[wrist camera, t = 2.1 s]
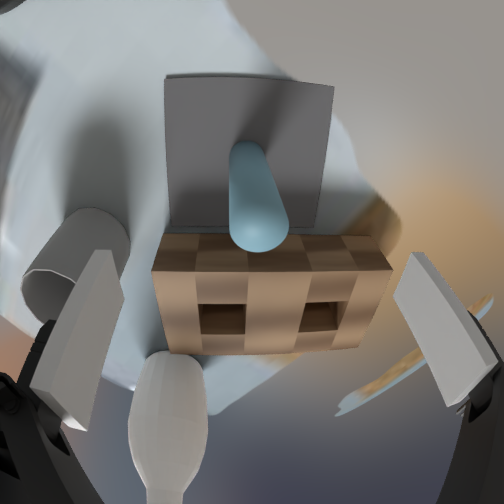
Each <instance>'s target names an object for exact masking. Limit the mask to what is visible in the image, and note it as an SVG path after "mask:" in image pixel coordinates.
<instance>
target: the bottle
mask: <svg viewBox="0 0 504 504" xmlns="http://www.w3.org/2000/svg"><path fill="white" fill-rule="evenodd" d="M207 435H208V420H207V397H206V391H205V384H204V377H203V370H202V368H201V366H200V364H199V363H198V362H197V361H196V360H195V359H194V358H193V357H191V356H189V355H183V354H170V351H169V350H168V351H159V352H156V353H153V354H152V355H150V356H149V357H148V358H146V361H145V363H144V366H143V368H142V371H141V374H140V377H139V379H138V382H137V385H136V388H135V391H134V396H133V400H132V405H131V410H130V414H129V419H128V436H129V445H130V450H131V455H132V459H133V462H134V464H135V467H136V469H137V471H138V472H139V475H140V477H141V479H142V481H143V483H144V485H145V487H146V488H147V504H182V499H183V493H184V491H185V490H186V488H187V487H188V486H189V484H190V482H191V481H192V480H193V478H194V477H195V475H196V474H197V472H198V470H199V467H200V464H201V461H202V459H203V456H204V452H205V447H206V441H207Z"/></svg>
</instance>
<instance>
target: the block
mask: <svg viewBox="0 0 504 504" xmlns="http://www.w3.org/2000/svg"><path fill="white" fill-rule="evenodd" d="M392 272H393V269H392V267H391V266H390V264H389V263H388V261H387V260H386V258H385V257H384V255H383V254H382V252H381V251H380V249H379V248H378V246H377V245H376V243H375V242H374V240H373V239H372V237H371V236H350V235H305V234H287V236H286V238H285V239H284V240H283V242H282V243H281V244H279V245H278V246H277V247H275V248H273V249H271V250H269V251H265V252H250V251H247V250H244V249H242V248H241V247H239V246H238V245H237V244H236V243H235V242H234V241H233V239H232V237H231V235H230V234H221V233H163V236H162V239H161V242H160V245H159V248H158V251H157V254H156V257H155V260H154V264H153V267H152V270H151V273H152V278H153V283H154V288H155V293H156V297H157V302H158V306H159V311H160V315H161V319H162V324H163V328H164V332H165V336H166V340H167V343H168V347H169V351H170V354H183V355H264V354H286V353H302V352H316V351H327V350H337V349H348V348H356V347H358V346H359V344H360V342H361V340H362V338H363V336H364V334H365V332H366V330H367V328H368V326H369V324H370V322H371V320H372V318H373V316H374V314H375V311H376V309H377V307H378V305H379V302H380V300H381V298H382V296H383V294H384V291H385V289H386V287H387V284H388V282H389V280H390V277H391V275H392Z"/></svg>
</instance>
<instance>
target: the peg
mask: <svg viewBox="0 0 504 504" xmlns="http://www.w3.org/2000/svg"><path fill="white" fill-rule="evenodd" d="M288 230H289V221H288V217H287V214H286V211H285V209H284V206H283V203H282V200H281V198H280V195H279V192H278V189H277V187H276V184H275V181H274V179H273V176H272V173H271V171H270V168H269V165H268V163H267V160H266V157H265V155H264V152H263V150H262V148H261V147H260V146H259V145H258V144H257V143H255V142H253V141H241V142H239V143H237V144H236V145H234V146H233V148H232V149H231V151H230V154H229V231H230V235H231V237H232V239H233V241H234V242H235V243H236V244H237V245H238V246H239V247H241V248H242V249H244V250H247V251H250V252H265V251H269V250H271V249H273V248H275V247H277V246H278V245H279V244H281V243H282V242H283V240H284V239H285V238H286V236H287V233H288Z"/></svg>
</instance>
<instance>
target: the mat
mask: <svg viewBox="0 0 504 504" xmlns="http://www.w3.org/2000/svg"><path fill="white" fill-rule="evenodd" d="M333 95H334V87H333V86H327V85H320V84H313V83H306V82H297V81H288V80H277V79H264V78H244V77H190V78H171V79H164V108H165V142H166V162H167V178H168V192H169V204H170V216H171V226H229V154H230V151H231V149H232V148H233V146H234V145H236V144H237V143H239V142H241V141H253V142H255V143H257V144H258V145H259V146H260V147H261V148H262V150H263V152H264V155H265V157H266V160H267V163H268V165H269V168H270V171H271V173H272V176H273V179H274V181H275V184H276V187H277V189H278V192H279V195H280V198H281V200H282V203H283V206H284V209H285V211H286V214H287V217H288V221H289V227H302V228H313V227H314V221H315V216H316V210H317V204H318V199H319V193H320V187H321V181H322V174H323V168H324V162H325V155H326V148H327V141H328V134H329V127H330V119H331V111H332V103H333Z"/></svg>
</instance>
